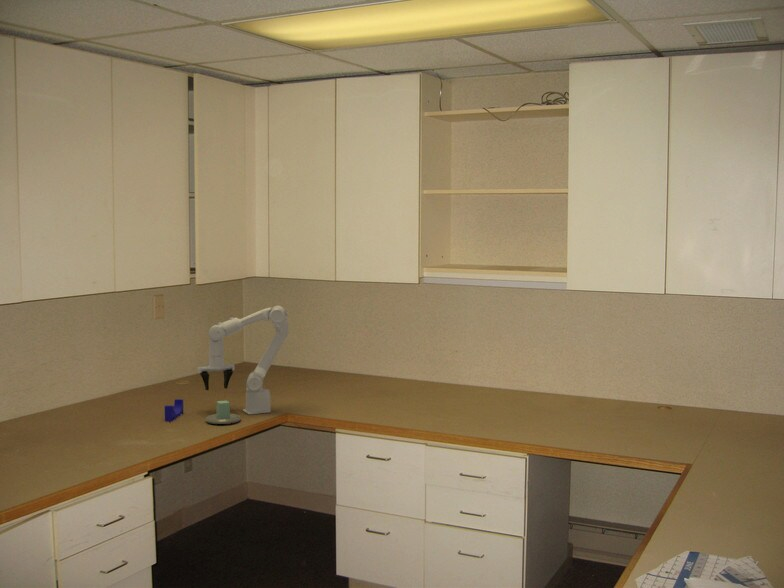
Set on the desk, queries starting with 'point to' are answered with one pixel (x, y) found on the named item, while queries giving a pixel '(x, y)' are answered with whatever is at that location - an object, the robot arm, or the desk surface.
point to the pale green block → (223, 409)
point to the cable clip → (174, 410)
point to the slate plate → (215, 420)
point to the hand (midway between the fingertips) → (216, 389)
